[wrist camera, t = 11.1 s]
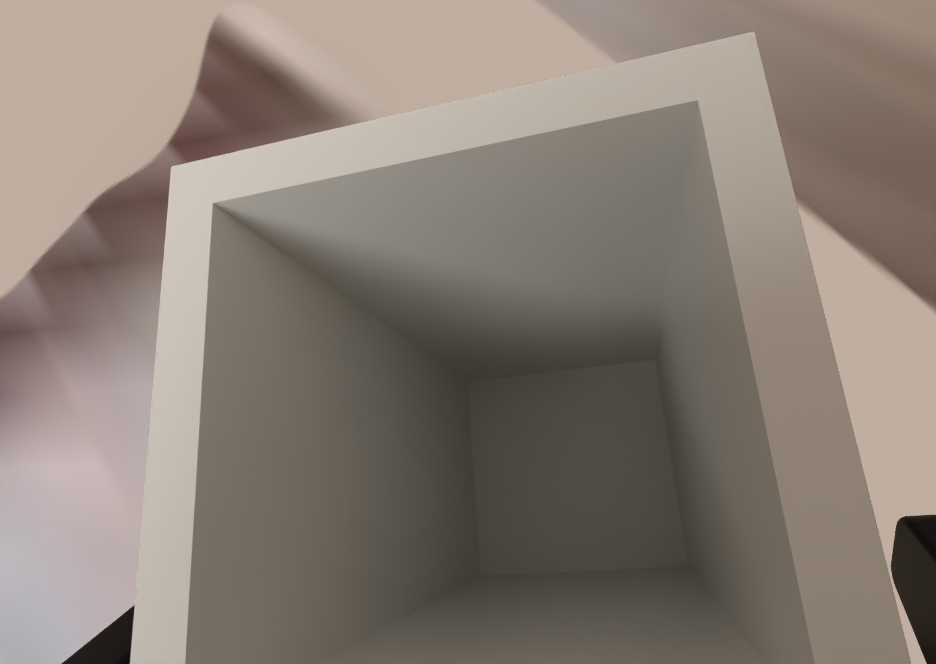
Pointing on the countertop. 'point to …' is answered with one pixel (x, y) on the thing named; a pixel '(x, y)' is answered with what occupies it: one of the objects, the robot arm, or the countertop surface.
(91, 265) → the countertop surface
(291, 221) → the grey tote
